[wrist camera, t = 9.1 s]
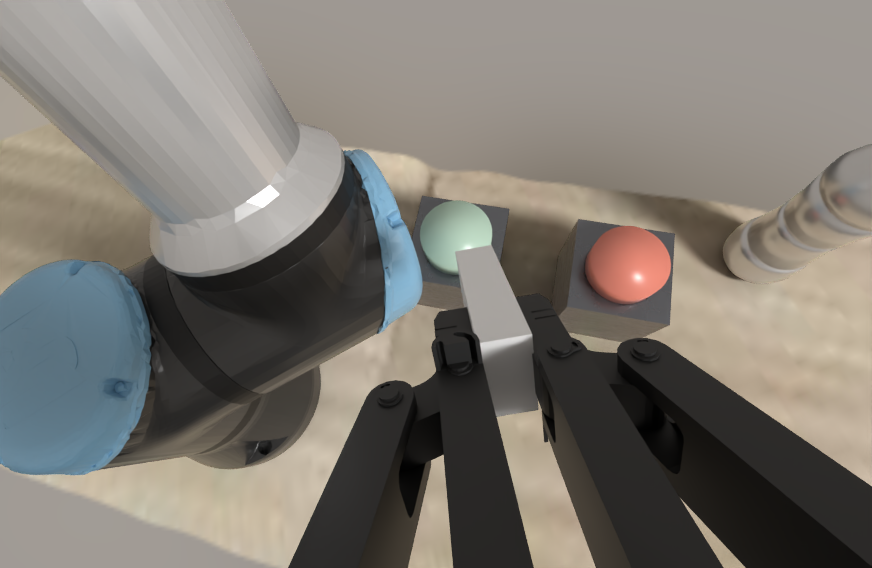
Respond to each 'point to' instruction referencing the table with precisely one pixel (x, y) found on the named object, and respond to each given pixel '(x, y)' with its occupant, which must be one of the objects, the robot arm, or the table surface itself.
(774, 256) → the plastic bottle
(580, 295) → the red button post
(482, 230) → the green button
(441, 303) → the green button post
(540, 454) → the table surface
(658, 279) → the red button
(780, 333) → the table surface
